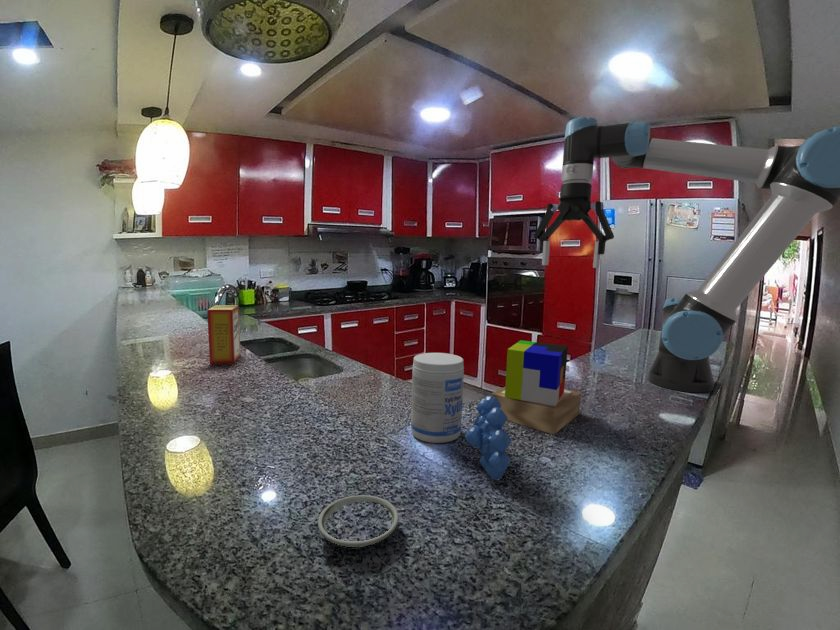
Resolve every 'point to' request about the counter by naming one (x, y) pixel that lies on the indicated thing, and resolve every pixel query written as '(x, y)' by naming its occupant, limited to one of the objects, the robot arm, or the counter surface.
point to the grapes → (490, 437)
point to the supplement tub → (437, 397)
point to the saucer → (349, 500)
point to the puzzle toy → (536, 372)
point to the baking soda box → (223, 333)
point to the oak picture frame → (541, 411)
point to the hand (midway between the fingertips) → (569, 266)
